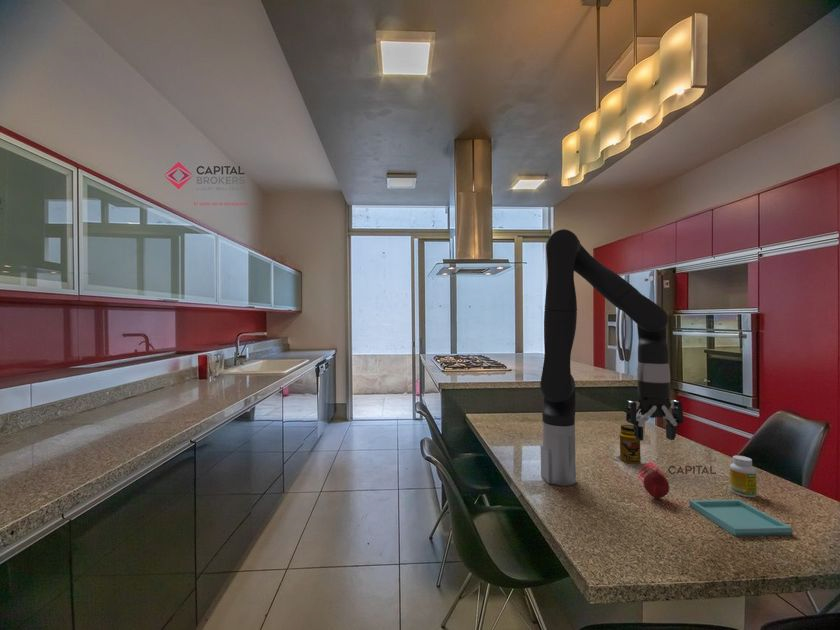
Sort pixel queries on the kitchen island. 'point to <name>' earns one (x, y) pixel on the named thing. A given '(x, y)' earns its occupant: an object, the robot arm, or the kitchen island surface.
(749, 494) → the supplement bottle
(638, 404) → the robot arm
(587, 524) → the kitchen island surface
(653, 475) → the dark red rounded piece
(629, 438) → the condiment
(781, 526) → the tray
